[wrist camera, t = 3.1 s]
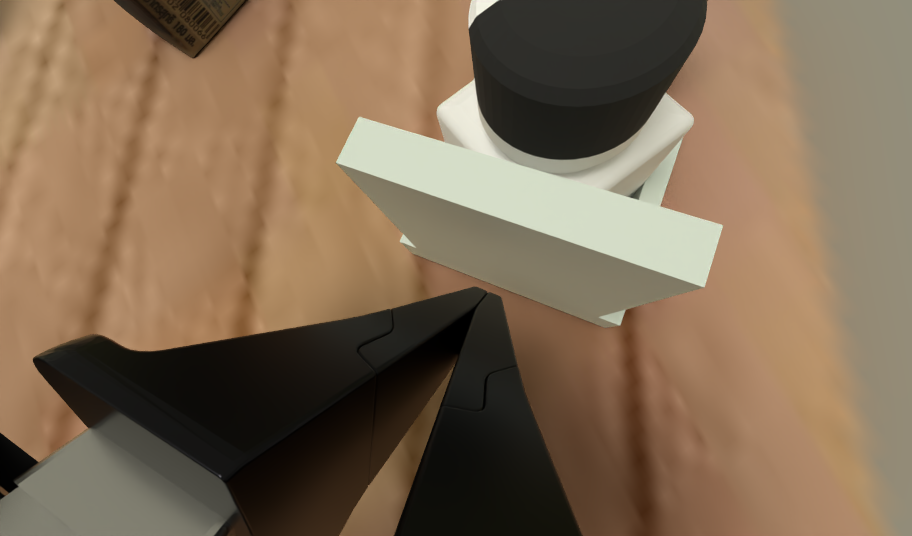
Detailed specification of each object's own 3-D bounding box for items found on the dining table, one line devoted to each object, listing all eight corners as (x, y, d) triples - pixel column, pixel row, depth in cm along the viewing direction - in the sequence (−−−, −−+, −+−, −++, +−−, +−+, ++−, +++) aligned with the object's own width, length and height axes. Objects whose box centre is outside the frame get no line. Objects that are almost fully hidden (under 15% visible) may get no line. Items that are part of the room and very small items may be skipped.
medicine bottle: (631, 199, 19) (830, -30, 7) (530, 275, 19) (569, 165, 7) (548, 117, 21) (602, -171, 9) (456, 185, 21) (392, -18, 9)
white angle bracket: (605, 327, 18) (755, 304, 7) (412, 253, 20) (306, 153, 9) (668, 140, 19) (868, -107, 9) (483, 93, 22) (462, -145, 11)
